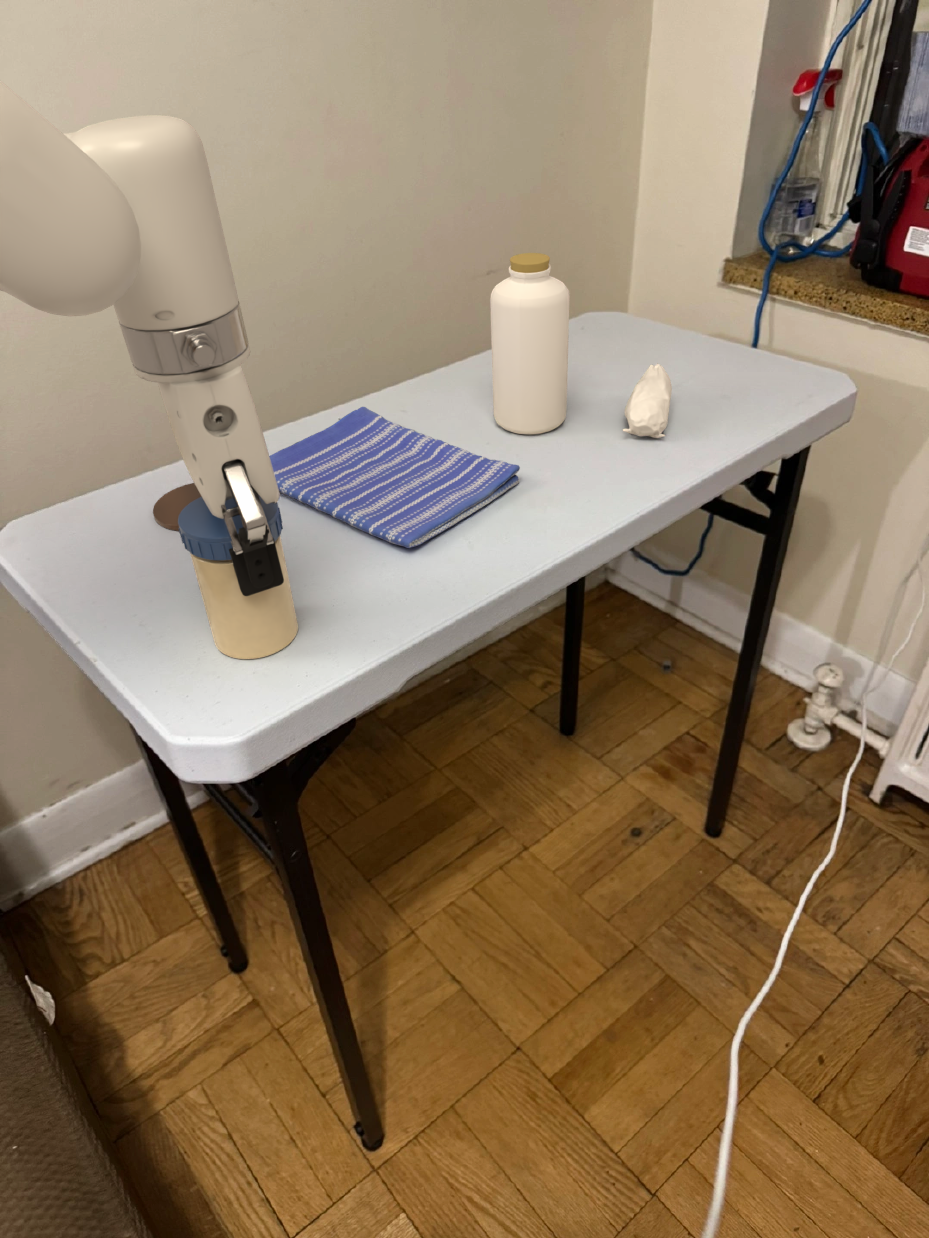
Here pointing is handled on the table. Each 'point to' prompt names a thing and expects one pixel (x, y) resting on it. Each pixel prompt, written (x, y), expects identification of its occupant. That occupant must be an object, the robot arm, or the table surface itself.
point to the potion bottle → (530, 346)
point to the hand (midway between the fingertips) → (247, 560)
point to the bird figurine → (649, 403)
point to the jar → (246, 610)
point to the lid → (217, 528)
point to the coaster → (174, 505)
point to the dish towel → (389, 478)
